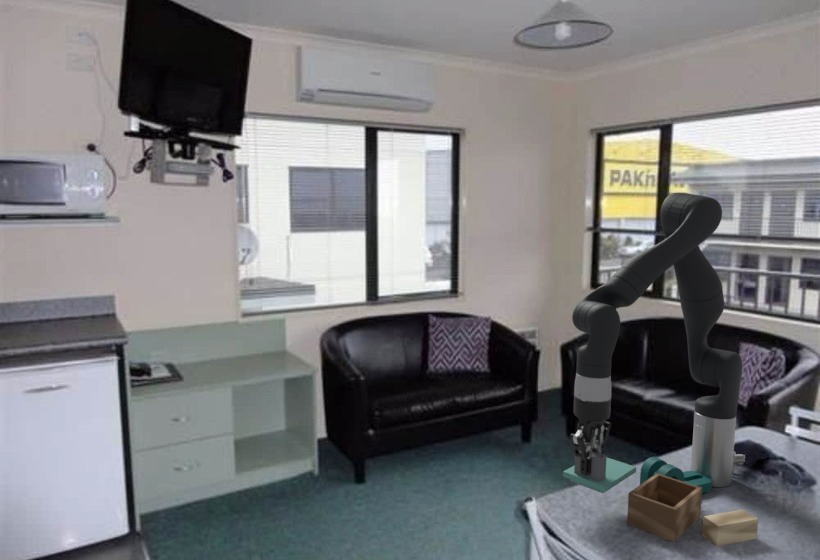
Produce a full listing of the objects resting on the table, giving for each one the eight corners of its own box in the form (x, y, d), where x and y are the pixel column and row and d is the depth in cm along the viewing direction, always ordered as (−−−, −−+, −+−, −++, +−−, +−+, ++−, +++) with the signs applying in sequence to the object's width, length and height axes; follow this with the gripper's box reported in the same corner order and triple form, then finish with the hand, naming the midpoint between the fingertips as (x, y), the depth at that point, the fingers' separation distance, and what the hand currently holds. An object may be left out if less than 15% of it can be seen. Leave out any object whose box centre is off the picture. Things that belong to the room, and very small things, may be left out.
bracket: (660, 503, 138) (662, 470, 137) (639, 490, 144) (641, 459, 143) (718, 489, 145) (720, 458, 144) (695, 477, 151) (697, 447, 150)
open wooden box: (655, 501, 139) (657, 473, 138) (700, 517, 132) (702, 487, 131) (627, 523, 129) (628, 493, 129) (673, 542, 122) (675, 510, 121)
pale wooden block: (702, 536, 125) (703, 516, 124) (741, 529, 128) (742, 509, 127) (717, 547, 121) (718, 526, 121) (756, 539, 124) (758, 518, 123)
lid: (595, 462, 142) (596, 433, 141) (635, 476, 135) (637, 445, 134) (562, 481, 132) (564, 449, 131) (604, 496, 125) (606, 463, 124)
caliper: (728, 477, 153) (730, 453, 152) (724, 475, 153) (726, 452, 153) (768, 458, 164) (770, 436, 163) (764, 457, 165) (766, 435, 164)
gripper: (593, 384, 135) (589, 457, 137) (559, 397, 126) (556, 476, 128) (624, 391, 130) (620, 467, 132) (591, 406, 120) (588, 488, 122)
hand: (589, 471), depth 130 cm, fingers closed on lid, 2 cm apart
